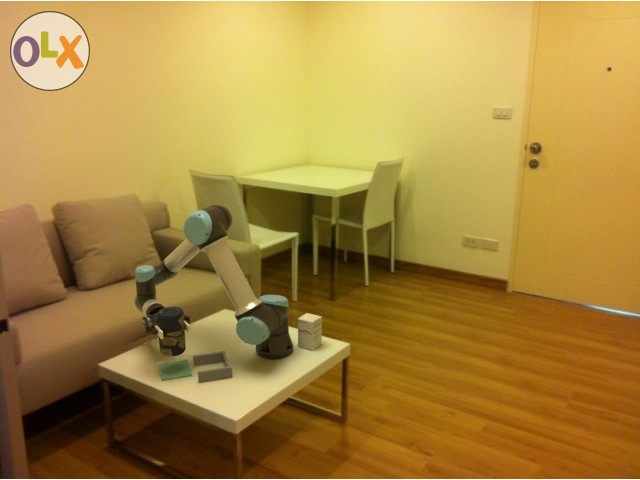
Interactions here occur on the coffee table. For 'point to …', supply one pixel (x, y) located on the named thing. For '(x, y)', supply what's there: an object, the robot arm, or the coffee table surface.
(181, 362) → the mat
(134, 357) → the coffee table surface
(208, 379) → the frame
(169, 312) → the canister
